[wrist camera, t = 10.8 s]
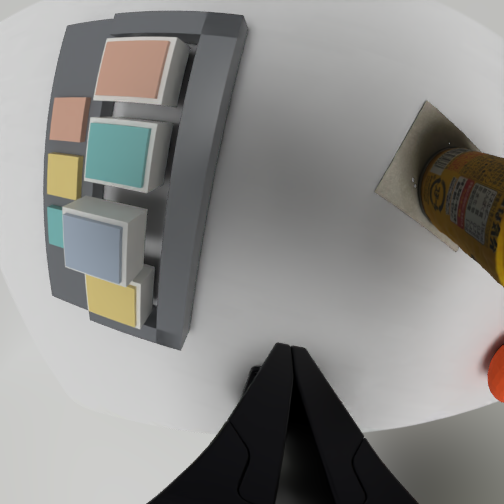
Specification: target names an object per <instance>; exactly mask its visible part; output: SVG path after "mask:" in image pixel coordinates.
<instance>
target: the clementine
mask: <svg viewBox="0 0 504 504" xmlns="http://www.w3.org/2000/svg"><path fill="white" fill-rule="evenodd" d="M488 386H489V388H490V391H491V393H492V394H493V395H494V397H495V398H496V399H498V400H499V401H501V402H504V345H502V346H501V347H500V348H499V349H498V350H497V352H496V353H495V355H494V356H493V358H492V360H491V362H490V365H489V370H488Z"/></svg>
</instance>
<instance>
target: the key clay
mask: <svg viewBox="0 0 504 504" xmlns="http://www.w3.org/2000/svg"><path fill="white" fill-rule="evenodd" d="M190 49H191V48H190V47H189V46H188V45H187V44H185V43H184V42H183V41H181V40H180V39H179V38H178V37H121V38H107V40H106V43H105V47H104V51H103V55H102V59H101V63H100V68H99V72H98V77H97V82H96V87H95V92H94V97H93V100H97V101H114V102H130V103H142V104H153V105H162V106H171V107H177V103H178V99H179V94H180V89H181V85H182V81H183V76H184V72H185V68H186V64H187V60H188V56H189V52H190Z"/></svg>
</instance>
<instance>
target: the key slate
mask: <svg viewBox="0 0 504 504" xmlns="http://www.w3.org/2000/svg"><path fill="white" fill-rule="evenodd" d="M147 211H148V209H145V208H140V207H136V206H131V205H127V204H122V203H118V202H113V201H109V200H104V199H100V198H95V197H90V196H84V197H82V198H79V199H77V200H75V201H73V202H71V203H69V204H67V205H65V206H63V207H62V217H63V243H64V257H65V267H67V268H69V269H72V270H75V271H78V272H81V273H84V274H87V275H89V276H92V277H95V278H98V279H101V280H104V281H107V282H110V283H113V284H117V285H120V286H123V287H127V286H128V285H129V284H130V283H131V281H132V280H133V279H134V278H135V277H136V276H137V275H138V273H139V272H140V271H141V270H142V269H143V263H144V247H145V233H146V222H147Z"/></svg>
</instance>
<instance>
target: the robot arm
mask: <svg viewBox="0 0 504 504" xmlns="http://www.w3.org/2000/svg"><path fill="white" fill-rule="evenodd" d="M255 372H258V373H255ZM147 504H419V503H418V502H417V501H416V500H415V499H414V498H413V497H412V496H411V494H409V492H408V491H407V490H406V489H405V488H404V487H403V486H402V484H401V483H400V482H399V481H398V480H397V479H396V478H395V476H394V475H393V474H392V473H391V472H390V470H389V469H388V468H387V467H386V466H385V464H384V463H383V462H382V460H381V459H380V458H379V456H378V455H377V454H376V452H375V451H374V449H373V448H372V447H371V445H370V444H369V442H368V441H367V439H366V438H364V435H363V433H362V432H361V430H360V429H359V428H358V426H357V425H356V423H355V422H354V420H353V419H352V417H351V416H350V414H349V413H348V411H347V410H346V408H345V407H344V405H343V404H342V402H341V401H340V399H339V398H338V396H337V395H336V393H335V392H334V390H333V389H332V387H331V386H330V384H329V383H328V381H327V380H326V378H325V377H324V375H323V374H322V372H321V371H320V369H319V368H318V366H317V365H316V363H315V362H314V360H313V359H312V357H311V356H310V354H309V353H308V351H307V350H306V349H305V348H303V347H298V346H291V347H290V345H288V344H283V343H279V342H277V343H276V344H275V345H274V347H273V349H272V350H271V352H270V354H269V355H268V357H267V359H266V360H265V362H264V363H263V365H262V367H261V368H260V367H253V368H252V369H251V371H250V374H249V377H248V380H247V383H246V386H245V389H244V391H243V394H242V397H241V400H240V401H239V403H238V405H237V406H236V408H235V409H234V411H233V412H232V414H231V415H230V417H229V418H228V420H227V421H226V422H225V424H224V425H223V427H222V428H221V430H220V431H219V433H218V434H217V435H216V437H215V438H214V439H213V440H212V442H211V443H210V445H209V446H208V447H207V448H206V449H205V450H204V451H203V452H202V453H201V454H200V456H199V457H198V458H197V459H196V460H195V461H194V462H193V463H192V464H191V465H190V466H189V467H188V468H187V469H186V470H185V471H183V472H182V473H181V474H180V475H179V476H178V477H177V478H176V479H175V480H174V481H173V482H172V483H171V484H169V485H168V486H167V487H166V488H165V489H164V490H163V491H162V492H160V493H159V494H158V495H157V496H156V497H154V498H153V499H152V500H151V501H149V502H148V503H147Z"/></svg>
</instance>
